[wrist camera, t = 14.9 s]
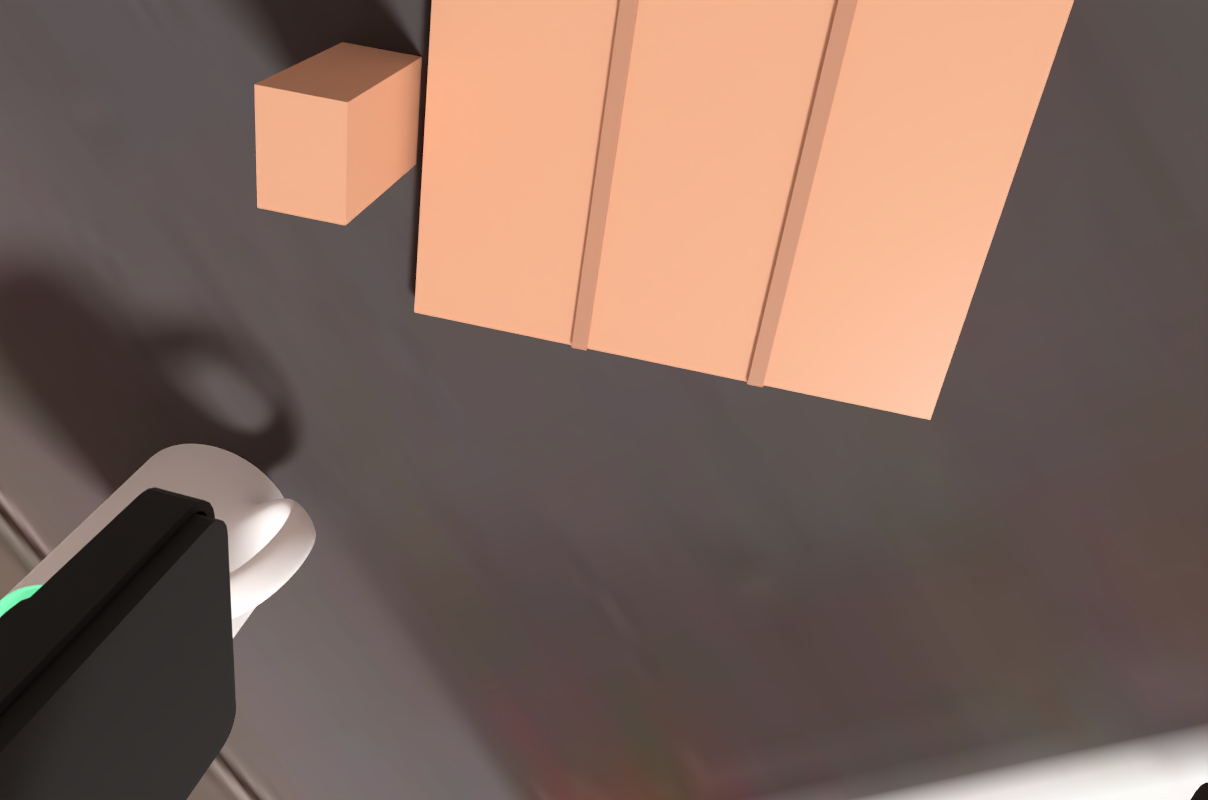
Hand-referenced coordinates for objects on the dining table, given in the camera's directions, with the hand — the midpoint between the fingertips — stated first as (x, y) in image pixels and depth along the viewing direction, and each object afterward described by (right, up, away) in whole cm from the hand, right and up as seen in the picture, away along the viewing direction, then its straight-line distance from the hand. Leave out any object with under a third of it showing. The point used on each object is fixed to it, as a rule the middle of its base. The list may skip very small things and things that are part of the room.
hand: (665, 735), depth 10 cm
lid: (+1, +12, +29) cm, 31 cm away
